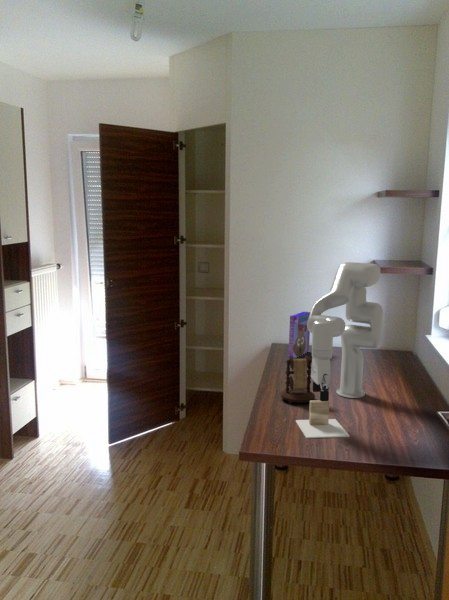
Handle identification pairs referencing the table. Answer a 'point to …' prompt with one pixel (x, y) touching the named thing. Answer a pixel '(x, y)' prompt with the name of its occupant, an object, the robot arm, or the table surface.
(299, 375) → the brown wooden ornament
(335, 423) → the rubber mat
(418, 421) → the table surface
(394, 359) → the table surface
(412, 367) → the table surface
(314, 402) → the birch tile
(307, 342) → the cereal box
